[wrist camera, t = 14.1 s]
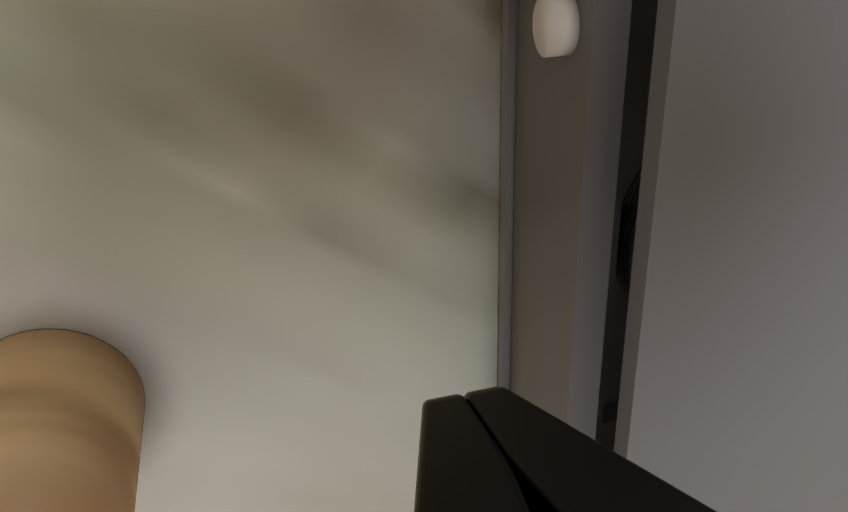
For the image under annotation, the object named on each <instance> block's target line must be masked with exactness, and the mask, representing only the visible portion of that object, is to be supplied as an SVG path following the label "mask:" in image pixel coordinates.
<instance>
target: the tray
mask: <svg viewBox="0 0 848 512" xmlns="http://www.w3.org/2000/svg"><path fill="white" fill-rule="evenodd" d="M657 8H658V0H519V5H518V52H517V99H516V146H515V193H514V240H513V287H512V334H511V381H510V391H512V392H514V393H515V394H517V395H519V396H521V397H522V398H524V399H526V400H527V401H529V402H531V403H533V404H534V405H536V406H538V407H539V408H541V409H543V410H544V411H546V412H548V413H550V414H551V415H553V416H555V417H556V418H558V419H560V420H562V421H563V422H565V423H567V424H568V425H570V426H572V427H574V428H575V429H577V430H579V431H580V432H582V433H584V434H585V435H587V436H589V437H591V438H592V439H594V440H596V441H597V442H599V443H601V444H603V445H604V446H606V447H608V448H609V449H611V450H613V451H614V443H615V433H616V423H617V412H618V402H619V392H620V382H621V372H622V362H623V352H624V342H625V331H626V321H627V311H628V300H627V298H626V296H625V295H624V293H623V292H622V289H621V287H620V285H619V282H618V280H617V276H616V263H617V252H618V240H619V229H620V218H621V206H622V202H623V199H624V197H625V195H626V192H627V190H628V188H629V186H630V184H631V183H632V181H633V179H634V177H635V176H636V174H637V172H638V171H639V170H640V168H641V167H642V160H643V149H644V139H645V129H646V119H647V109H648V99H649V89H650V79H651V68H652V58H653V48H654V38H655V28H656V18H657Z"/></svg>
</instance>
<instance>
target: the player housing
mask: <svg viewBox="0 0 848 512" xmlns="http://www.w3.org/2000/svg"><path fill="white" fill-rule="evenodd" d="M518 5H519V0H502V68H501V149H500V231H499V312H498V387H504V388H507V389H509V390H510V381H511V334H512V287H513V240H514V193H515V146H516V99H517V52H518ZM614 452H616V453H618V454H620V455H621V456H623V457H625V458H626V459H628V460H630V461H632V462H633V463H635V464H637V465H638V466H640V467H642V468H644V469H645V470H647V471H649V472H650V473H652V474H654V475H655V476H657V477H659V478H661V479H662V480H664V481H666V482H667V483H669V484H671V485H673V486H674V487H676V488H678V489H679V490H681V491H683V492H685V493H686V494H688V495H690V496H691V497H693V498H695V499H696V500H698V501H700V502H702V503H703V504H705V505H707V506H708V507H710V508H712V509H714V510H715V511H717V512H848V0H658V8H657V18H656V28H655V38H654V48H653V58H652V68H651V79H650V89H649V99H648V109H647V119H646V129H645V139H644V149H643V160H642V170H641V180H640V190H639V200H638V210H637V220H636V230H635V240H634V251H633V261H632V271H631V281H630V291H629V301H628V311H627V321H626V331H625V342H624V352H623V362H622V372H621V382H620V392H619V402H618V412H617V423H616V433H615V443H614Z"/></svg>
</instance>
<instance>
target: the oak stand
mask: <svg viewBox="0 0 848 512" xmlns="http://www.w3.org/2000/svg"><path fill="white" fill-rule="evenodd" d="M144 412H145V393H144V388H143V384H142V381H141V379H140V377H139V375H138V373H137V371H136V370H135V368H134V367H133V365H132V364H131V363H130V362H129V361H128V360H127V359H126V358H125V356H124V355H122V354H121V353H120V352H119V351H117V350H116V349H115V348H113V347H112V346H110V345H108V344H107V343H105V342H103V341H101V340H99V339H97V338H94V337H91V336H88V335H85V334H82V333H78V332H73V331H67V330H58V329H42V330H32V331H27V332H22V333H18V334H15V335H12V336H9V337H6V338H4V339H2V340H0V512H134V511H135V501H136V491H137V481H138V471H139V461H140V452H141V442H142V432H143V422H144Z"/></svg>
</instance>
